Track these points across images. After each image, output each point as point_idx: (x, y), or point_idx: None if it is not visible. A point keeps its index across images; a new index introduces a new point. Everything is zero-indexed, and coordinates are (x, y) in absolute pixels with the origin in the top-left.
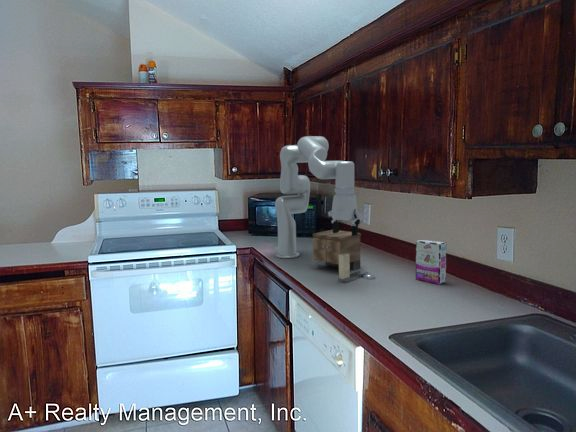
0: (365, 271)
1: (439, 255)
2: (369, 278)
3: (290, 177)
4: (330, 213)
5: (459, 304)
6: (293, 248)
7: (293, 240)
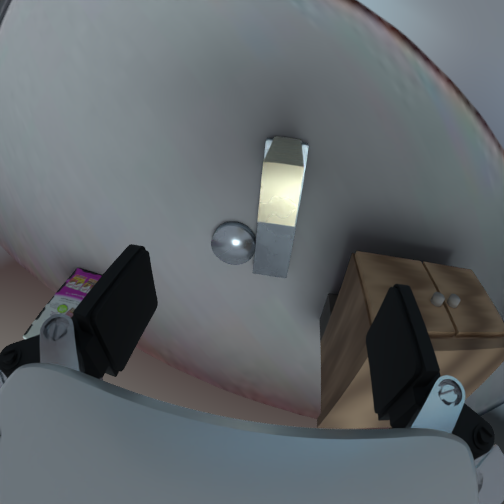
0: (264, 273)
1: (39, 315)
2: (221, 226)
3: None
4: (487, 488)
5: (5, 174)
6: None
7: None
